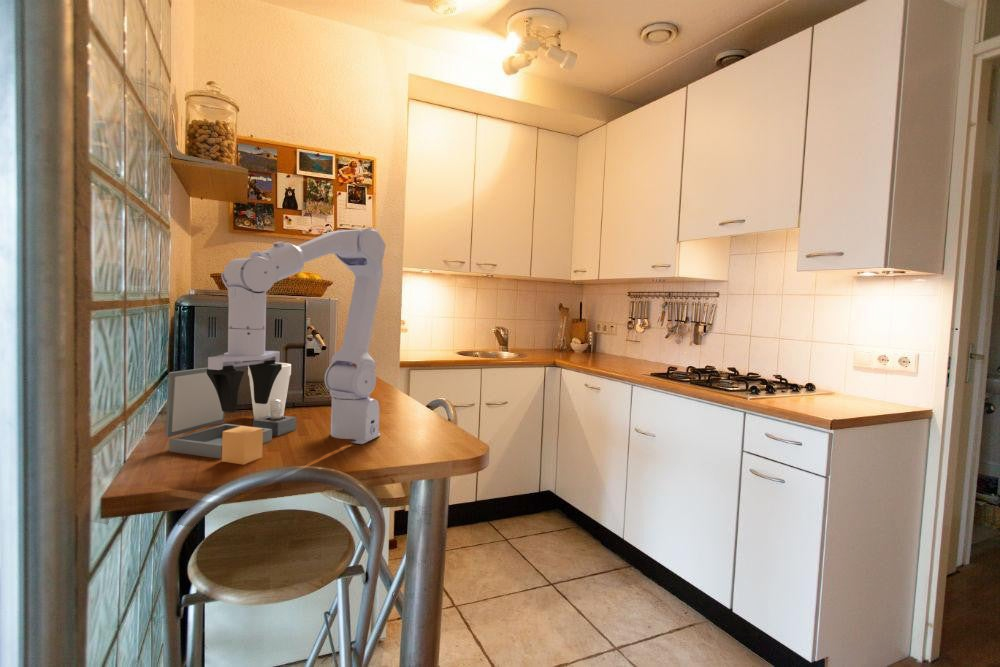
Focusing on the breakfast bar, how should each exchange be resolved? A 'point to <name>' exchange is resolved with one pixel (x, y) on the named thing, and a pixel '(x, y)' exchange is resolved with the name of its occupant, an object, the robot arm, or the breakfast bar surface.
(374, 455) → the breakfast bar surface
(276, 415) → the white upright cylinder
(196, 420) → the lid
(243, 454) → the block
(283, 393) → the foam cup
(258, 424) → the grey square socket
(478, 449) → the breakfast bar surface
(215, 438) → the grey shallow rectangular tray
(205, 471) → the breakfast bar surface
